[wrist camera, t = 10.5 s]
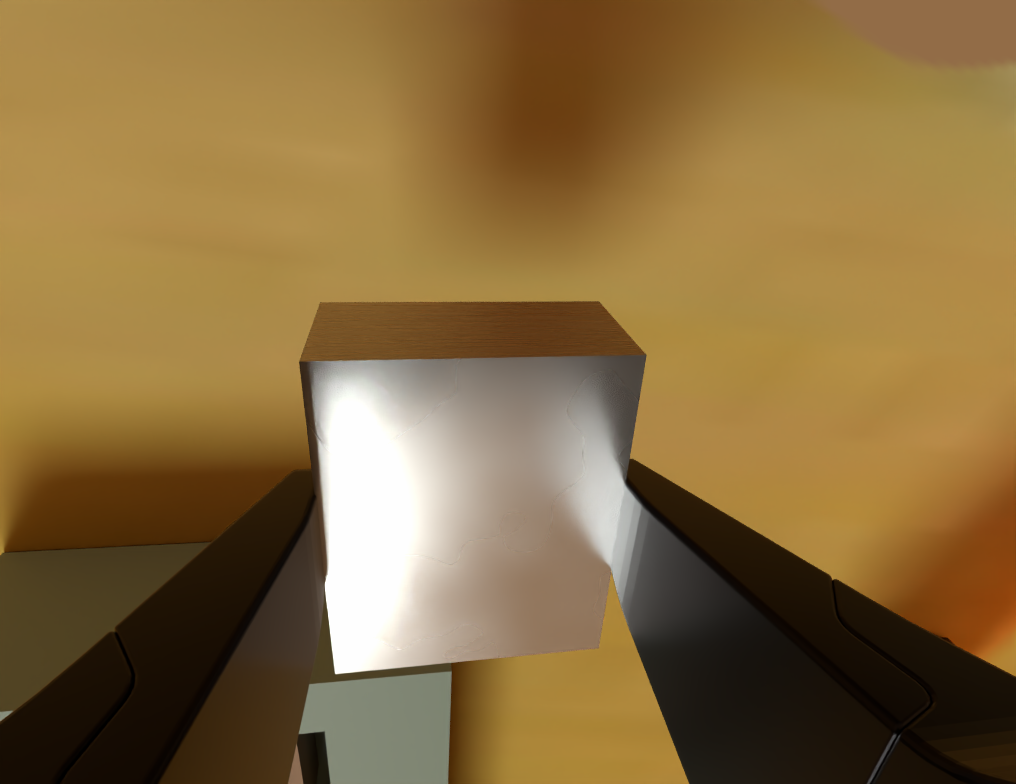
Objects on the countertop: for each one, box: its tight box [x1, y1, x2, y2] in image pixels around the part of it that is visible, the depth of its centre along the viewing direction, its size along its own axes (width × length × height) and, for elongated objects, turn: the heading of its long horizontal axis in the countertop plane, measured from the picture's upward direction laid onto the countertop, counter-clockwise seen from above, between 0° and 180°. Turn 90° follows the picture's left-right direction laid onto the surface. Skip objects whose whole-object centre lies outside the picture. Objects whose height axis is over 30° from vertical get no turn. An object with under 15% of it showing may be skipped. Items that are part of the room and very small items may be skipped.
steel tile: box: [299, 301, 646, 674], centre depth 9 cm, size 4×5×2 cm
